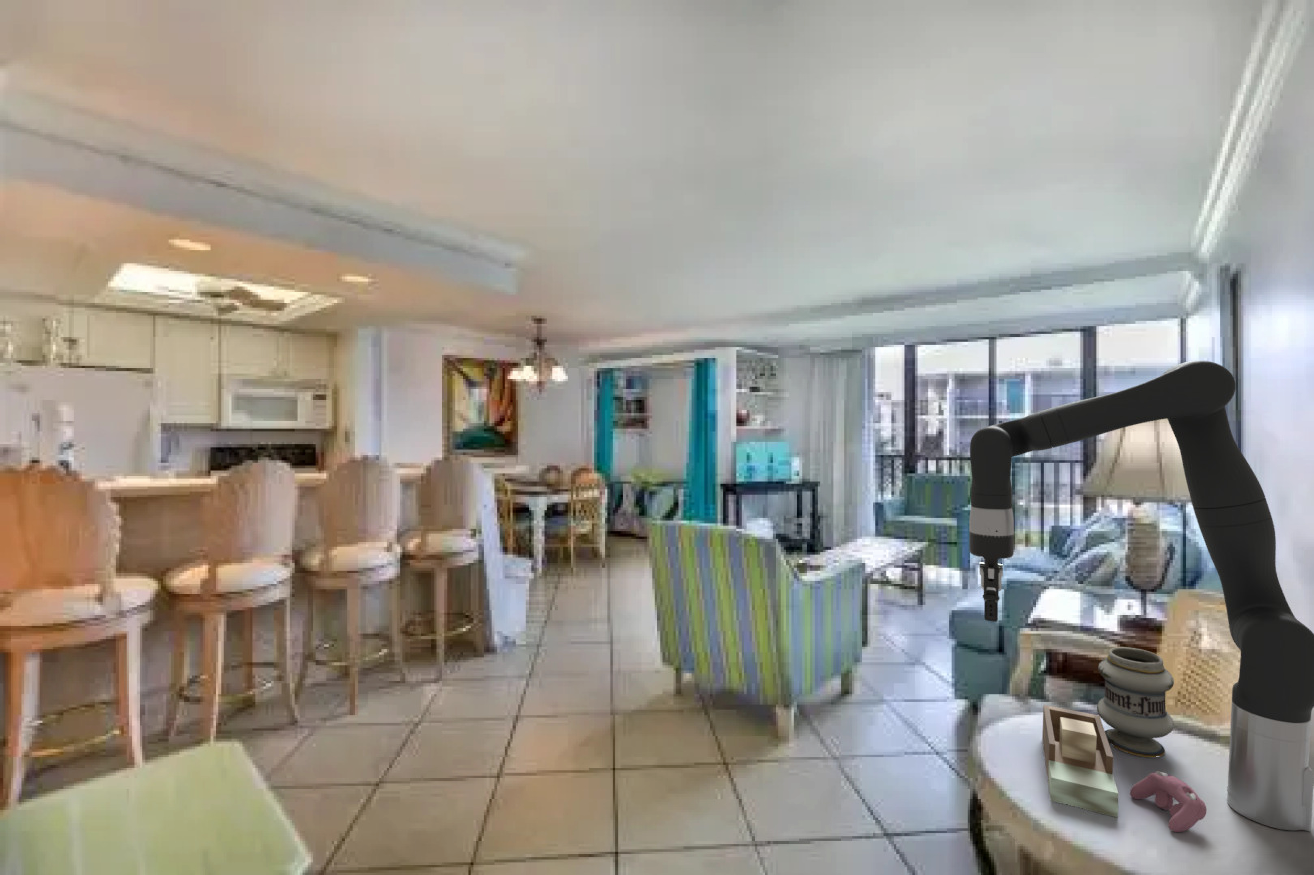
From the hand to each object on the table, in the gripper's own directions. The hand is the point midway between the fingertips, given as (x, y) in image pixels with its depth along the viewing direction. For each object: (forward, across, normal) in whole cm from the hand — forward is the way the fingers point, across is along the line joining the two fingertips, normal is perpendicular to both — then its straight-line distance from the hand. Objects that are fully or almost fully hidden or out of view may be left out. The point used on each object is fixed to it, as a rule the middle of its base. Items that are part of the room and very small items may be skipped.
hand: (991, 614), depth 122 cm
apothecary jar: (+27, +15, -25) cm, 40 cm away
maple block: (+23, -3, -14) cm, 27 cm away
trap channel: (+27, -3, -14) cm, 30 cm away
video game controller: (+27, -9, -25) cm, 38 cm away
